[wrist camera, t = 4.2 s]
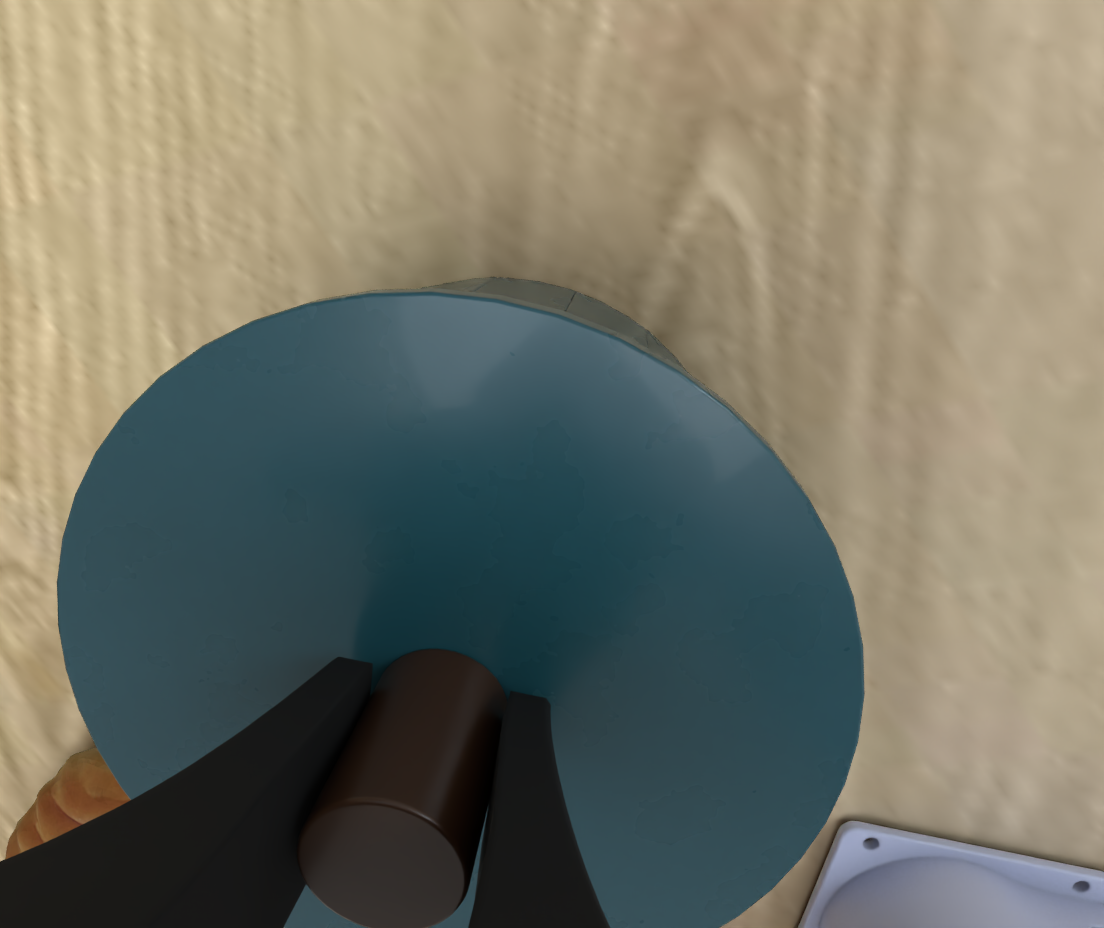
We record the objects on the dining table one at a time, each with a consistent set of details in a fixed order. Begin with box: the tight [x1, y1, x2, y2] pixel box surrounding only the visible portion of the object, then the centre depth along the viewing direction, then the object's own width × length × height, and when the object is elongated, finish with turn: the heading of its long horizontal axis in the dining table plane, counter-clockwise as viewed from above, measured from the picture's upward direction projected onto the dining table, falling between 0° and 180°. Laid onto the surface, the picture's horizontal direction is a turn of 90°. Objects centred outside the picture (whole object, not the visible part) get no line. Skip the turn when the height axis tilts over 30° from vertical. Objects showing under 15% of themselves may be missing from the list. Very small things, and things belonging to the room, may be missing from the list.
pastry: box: [5, 748, 130, 859], centre depth 26 cm, size 9×7×4 cm
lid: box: [57, 288, 864, 928], centre depth 12 cm, size 14×14×4 cm
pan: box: [420, 277, 688, 373], centre depth 19 cm, size 13×13×6 cm
